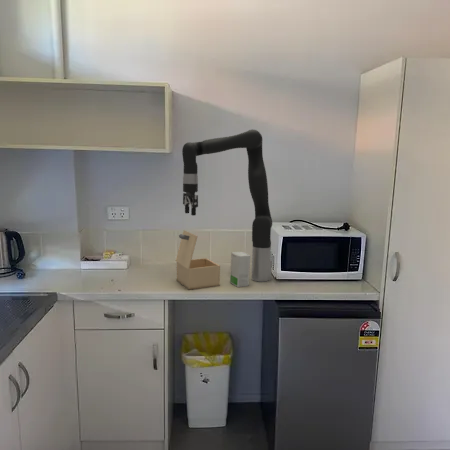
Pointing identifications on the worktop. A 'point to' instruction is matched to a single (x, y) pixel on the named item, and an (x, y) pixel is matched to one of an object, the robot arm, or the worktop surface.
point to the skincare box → (240, 269)
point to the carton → (199, 274)
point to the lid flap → (186, 248)
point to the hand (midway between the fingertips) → (190, 214)
